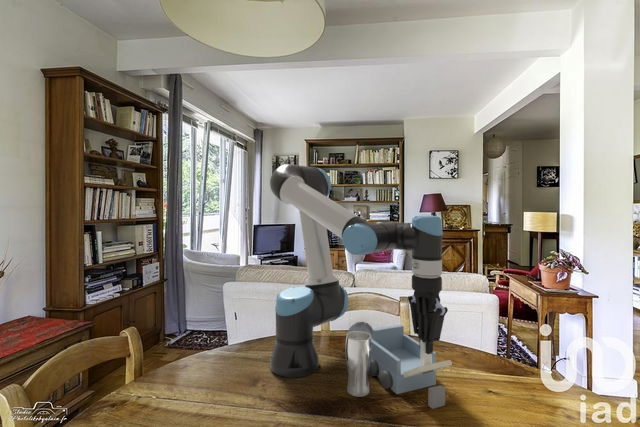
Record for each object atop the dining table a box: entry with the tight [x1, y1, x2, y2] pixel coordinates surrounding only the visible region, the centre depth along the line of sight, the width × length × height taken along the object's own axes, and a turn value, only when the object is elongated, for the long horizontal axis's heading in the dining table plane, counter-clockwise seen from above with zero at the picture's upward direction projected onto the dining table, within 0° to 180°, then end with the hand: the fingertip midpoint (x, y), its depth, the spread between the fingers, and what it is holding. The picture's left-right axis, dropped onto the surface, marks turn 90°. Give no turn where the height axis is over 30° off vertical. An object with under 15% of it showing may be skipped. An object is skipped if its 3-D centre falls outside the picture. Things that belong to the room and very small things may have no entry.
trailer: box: [368, 324, 446, 410], centre depth 93 cm, size 24×16×12 cm
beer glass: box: [345, 331, 371, 398], centre depth 89 cm, size 7×7×15 cm
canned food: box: [346, 321, 373, 339], centre depth 115 cm, size 11×10×10 cm
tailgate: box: [403, 359, 453, 378], centre depth 86 cm, size 2×10×8 cm
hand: (426, 364), depth 87 cm, fingers closed
